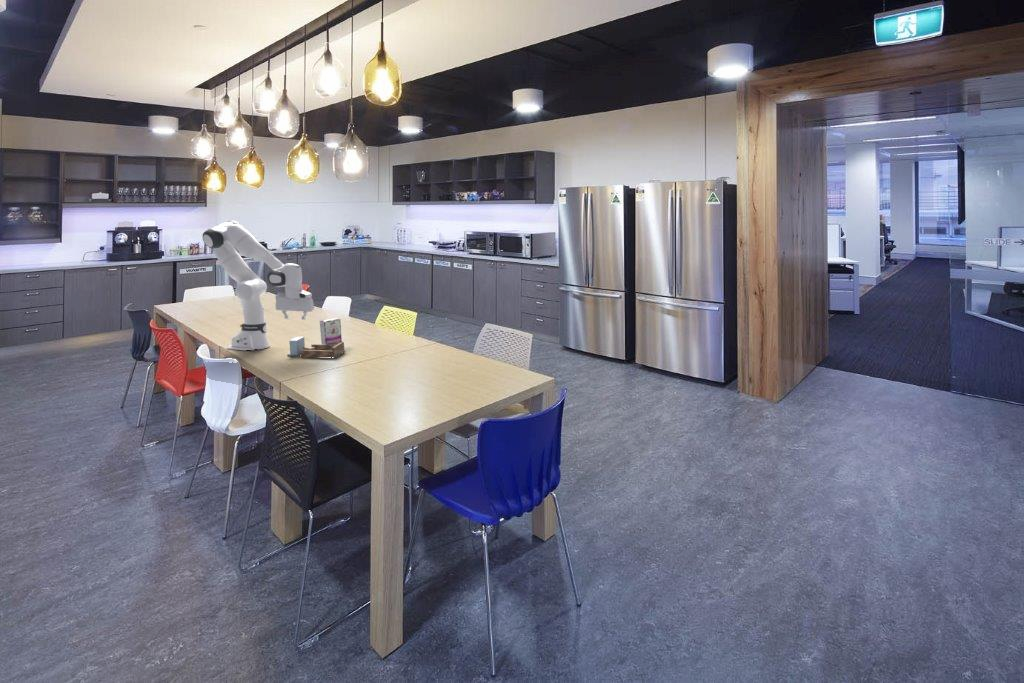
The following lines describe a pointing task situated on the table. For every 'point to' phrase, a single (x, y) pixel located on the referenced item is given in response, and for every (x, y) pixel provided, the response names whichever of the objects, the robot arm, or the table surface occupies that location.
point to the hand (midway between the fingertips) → (295, 318)
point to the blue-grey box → (296, 345)
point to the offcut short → (308, 348)
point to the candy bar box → (330, 331)
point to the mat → (294, 355)
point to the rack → (324, 350)
